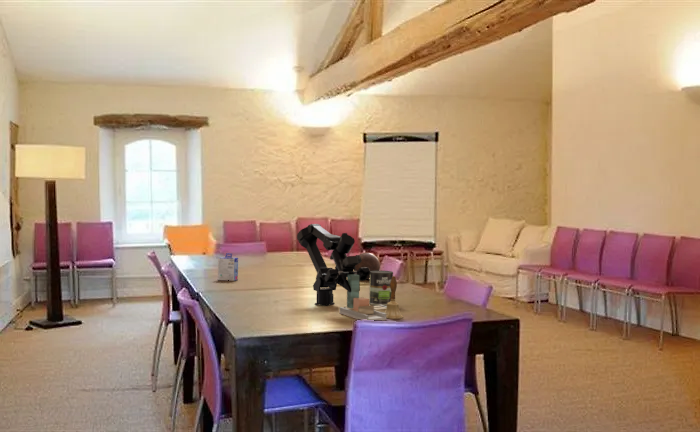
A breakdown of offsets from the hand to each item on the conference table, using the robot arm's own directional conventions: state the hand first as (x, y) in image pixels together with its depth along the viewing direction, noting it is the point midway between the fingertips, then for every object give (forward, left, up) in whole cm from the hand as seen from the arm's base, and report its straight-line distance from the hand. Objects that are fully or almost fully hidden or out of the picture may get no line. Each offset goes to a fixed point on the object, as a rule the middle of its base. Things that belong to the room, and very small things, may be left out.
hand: (354, 291), depth 270 cm
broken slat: (+6, +7, -9) cm, 13 cm away
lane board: (+8, +1, -9) cm, 12 cm away
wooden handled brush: (+15, +3, -9) cm, 18 cm away
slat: (+3, -1, -8) cm, 8 cm away
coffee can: (-3, +29, -9) cm, 30 cm away
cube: (+4, -3, -7) cm, 8 cm away
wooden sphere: (-48, +99, -9) cm, 110 cm away
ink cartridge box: (-108, +52, -9) cm, 120 cm away
